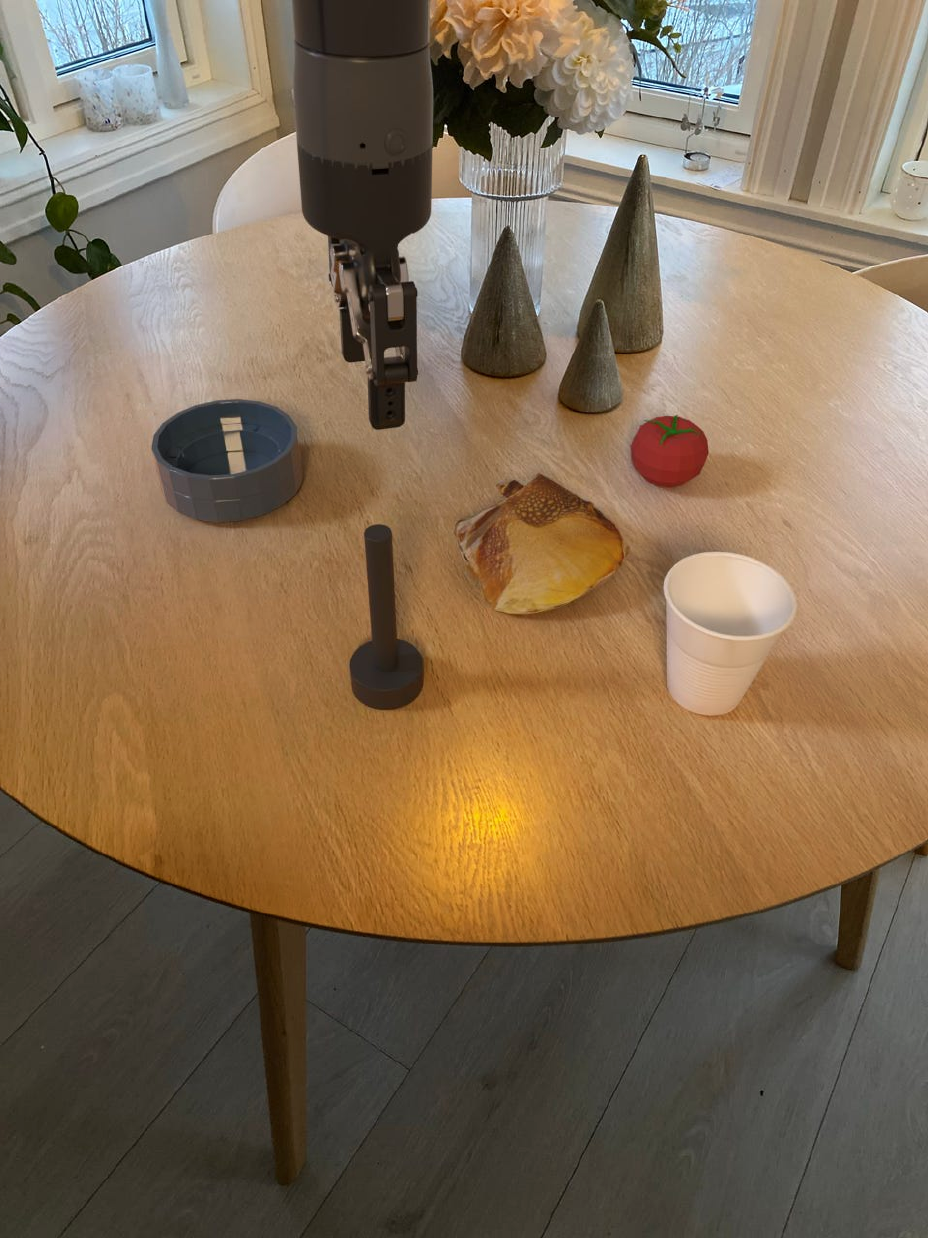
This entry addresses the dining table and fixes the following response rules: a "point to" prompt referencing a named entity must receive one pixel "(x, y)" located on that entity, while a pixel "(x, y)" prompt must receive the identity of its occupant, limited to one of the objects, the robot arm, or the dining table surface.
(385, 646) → the grey peg stand
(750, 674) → the cup
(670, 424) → the tomato
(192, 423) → the bowl
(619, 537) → the seashell
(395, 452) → the dining table surface
